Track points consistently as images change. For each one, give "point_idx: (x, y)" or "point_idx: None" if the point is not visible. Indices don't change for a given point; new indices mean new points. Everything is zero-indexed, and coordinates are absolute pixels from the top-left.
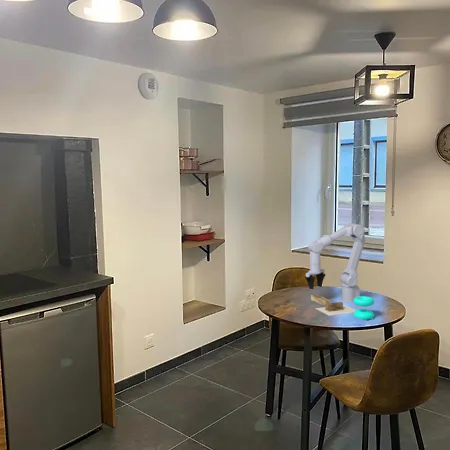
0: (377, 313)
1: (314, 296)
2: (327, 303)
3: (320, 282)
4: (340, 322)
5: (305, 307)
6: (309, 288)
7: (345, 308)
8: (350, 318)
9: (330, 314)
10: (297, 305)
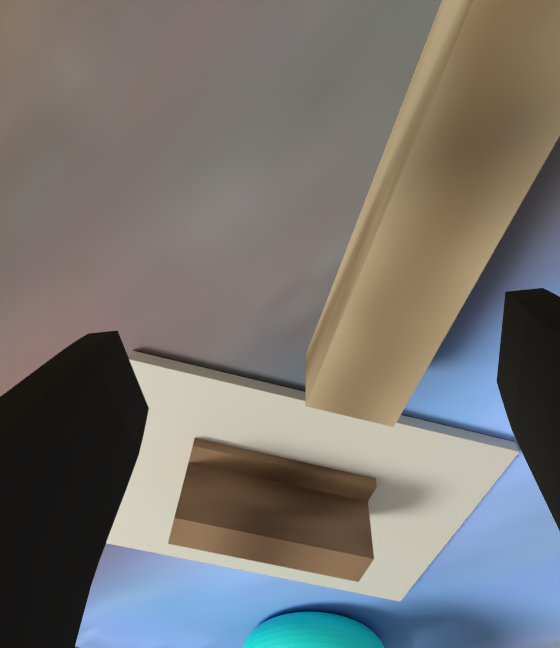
0: (476, 645)
1: (445, 65)
2: (194, 524)
3: (551, 468)
4: (101, 617)
5: (70, 213)
6: (80, 342)
7: (394, 517)
8: (224, 613)
9: (135, 536)
10: (5, 36)
